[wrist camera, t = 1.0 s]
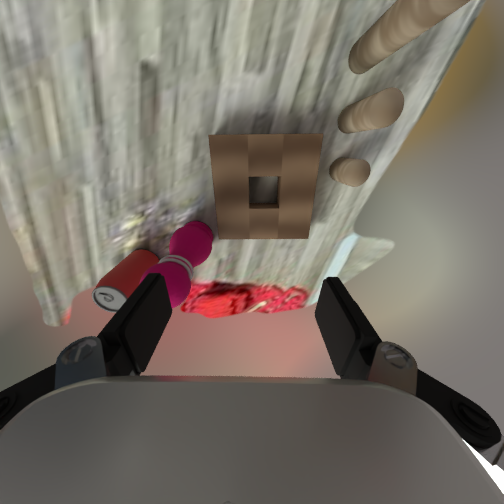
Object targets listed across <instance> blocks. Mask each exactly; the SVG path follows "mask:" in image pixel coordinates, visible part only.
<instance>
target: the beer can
mask: <svg viewBox="0 0 504 504" xmlns="http://www.w3.org/2000/svg"><path fill="white" fill-rule="evenodd" d="M158 262H159V259H158V257H157V256H156V255H155V254H153V253H152V252H150V251H147V250H141V249H140V250H135V251H133V252H132V253H131V254H129V255H128V256H127V257H126V258H125V259H124V260H122V261H121V262H120V263H119V264H118V265H117V266H115V267H114V268H113V269H112V270H111V271H110V272H109V273H107V274H106V275H105V276H104V277H103V278H102V279H101V280H100V281H99V283H98V284H97V286H96V288H95V289H94V290H93V292H92V298H93V301H94V302H95V303H96V305H98V306H99V307H100V308H102V309H104V310H106V311H109V312H117V311H118V310H119V309H120V308H121V306H122V305H123V304H124V303H125V301H126V300H127V299H128V298H129V297H130V295H131V294H132V293H133V292H134V290H135V289H136V288H137V287H138V285H139V284H140V280H141V278H142V276H143V274H144V273H145V271H146V270H147V269H149V268H150V267H151V266H153V265H155V264H157V263H158Z"/></svg>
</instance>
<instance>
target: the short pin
mask: <svg viewBox="0 0 504 504" xmlns="http://www.w3.org/2000/svg"><path fill="white" fill-rule="evenodd" d="M329 174H330V177H331V178H332V179H333V180H336V181H338V182H341V183H343V184H346V185H349V186H352V187H356V186H360V185H361V184H363V183H364V182H365V181H366V180H367V179H368V177H369V175H370V165H369V163H368V162H367V161H365V160H361V159H351V158H339V159H336V160H335V161H334V162H333V163H332V164H331V166H330V170H329Z"/></svg>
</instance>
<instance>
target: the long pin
mask: <svg viewBox="0 0 504 504" xmlns="http://www.w3.org/2000/svg"><path fill="white" fill-rule="evenodd" d="M469 1H470V0H397V1H396V2H395V3H394V4H393V5H392V6H391V7H390V8H389V9H388V10H387V11H386V12H385V13H384V14H383V15H382V16H381V17H380V18H379V19H378V20H377V21H376V22H375V24H374V25H373V26H372V27H371V28H370V29H369V30H368V31H367V32H366V33H365V34H364V35H363V36H362V37H361V38H360V39H359V40H358V41H357V42H356V43H355V44H354V45H353V47H352V49H351V51H350V54H349V61H348V62H349V67H350V69H351V71H352V72H353V73H355V74H363V73H365V72H366V71H368V70H369V69H371V68H372V67H374V66H375V65H377V64H378V63H380V62H381V61H383V60H384V59H385V58H387V57H388V56H390V55H391V54H393V53H394V52H396V51H397V50H399V49H400V48H402V47H403V46H405V45H406V44H408V43H409V42H410V41H412V40H413V39H415V38H416V37H418V36H419V35H421V34H422V33H424V32H425V31H427V30H428V29H430V28H431V27H433V26H434V25H435V24H437V23H438V22H440V21H441V20H443V19H444V18H446V17H447V16H449V15H450V14H452V13H453V12H455V11H456V10H458V9H459V8H460V7H462V6H463V5H465V4H466V3H468V2H469Z"/></svg>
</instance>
